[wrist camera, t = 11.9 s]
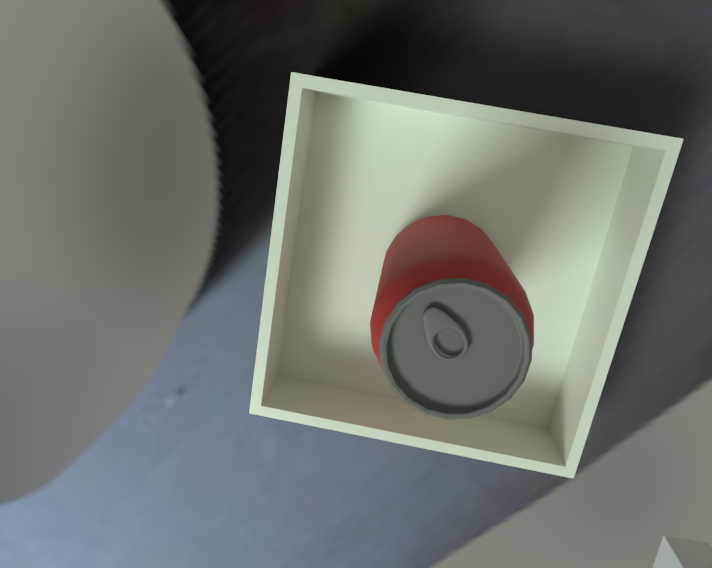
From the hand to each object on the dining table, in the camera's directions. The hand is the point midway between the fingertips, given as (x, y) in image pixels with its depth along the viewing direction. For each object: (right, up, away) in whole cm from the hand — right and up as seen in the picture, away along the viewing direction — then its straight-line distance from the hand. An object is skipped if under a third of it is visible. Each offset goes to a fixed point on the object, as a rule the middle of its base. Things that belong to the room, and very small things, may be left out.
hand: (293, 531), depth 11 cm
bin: (+6, +6, +22) cm, 23 cm away
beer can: (+6, +5, +22) cm, 23 cm away
